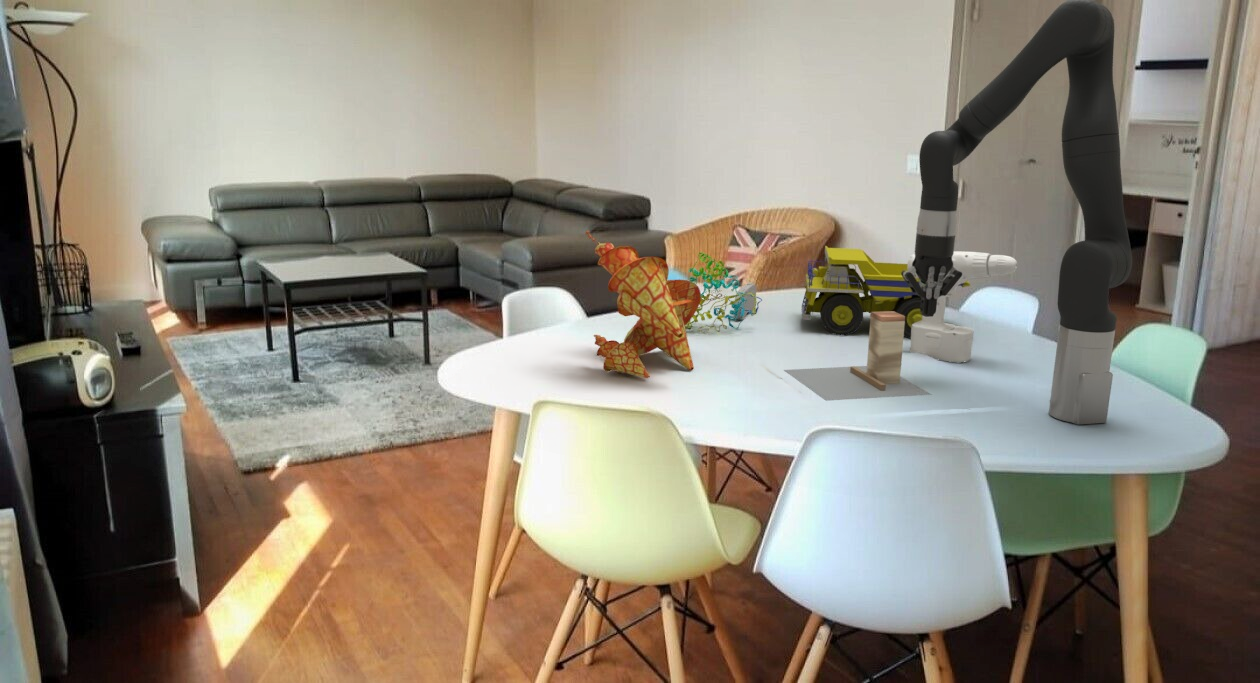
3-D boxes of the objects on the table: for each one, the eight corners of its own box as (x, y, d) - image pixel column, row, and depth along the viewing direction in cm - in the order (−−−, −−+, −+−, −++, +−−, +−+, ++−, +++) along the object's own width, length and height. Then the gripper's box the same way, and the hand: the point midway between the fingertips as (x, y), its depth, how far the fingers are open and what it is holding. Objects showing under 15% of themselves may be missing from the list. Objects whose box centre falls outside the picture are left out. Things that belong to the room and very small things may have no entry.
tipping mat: (931, 399, 185) (932, 388, 184) (825, 405, 180) (826, 394, 180) (879, 369, 206) (880, 359, 205) (783, 374, 201) (783, 364, 200)
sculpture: (682, 316, 179) (588, 193, 193) (604, 408, 192) (521, 287, 207) (771, 315, 204) (682, 207, 219) (696, 397, 217) (617, 290, 232)
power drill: (999, 371, 205) (1011, 258, 199) (894, 353, 220) (902, 247, 214) (1011, 363, 212) (1023, 254, 206) (908, 346, 226) (917, 243, 220)
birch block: (899, 382, 192) (905, 316, 189) (877, 384, 191) (882, 317, 188) (888, 376, 197) (893, 311, 194) (866, 377, 196) (871, 311, 192)
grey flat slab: (747, 308, 269) (749, 279, 267) (755, 309, 268) (756, 280, 266) (732, 322, 251) (733, 291, 249) (740, 323, 250) (742, 292, 248)
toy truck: (965, 342, 231) (974, 263, 227) (801, 335, 237) (806, 257, 232) (949, 322, 254) (956, 249, 249) (800, 315, 260) (804, 244, 255)
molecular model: (680, 254, 228) (693, 232, 241) (656, 326, 239) (670, 301, 252) (767, 287, 226) (776, 263, 239) (739, 358, 237) (748, 332, 250)
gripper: (915, 235, 184) (907, 321, 188) (975, 234, 186) (966, 319, 191) (896, 230, 191) (889, 312, 195) (955, 229, 193) (947, 311, 198)
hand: (927, 315), depth 193 cm, fingers closed
